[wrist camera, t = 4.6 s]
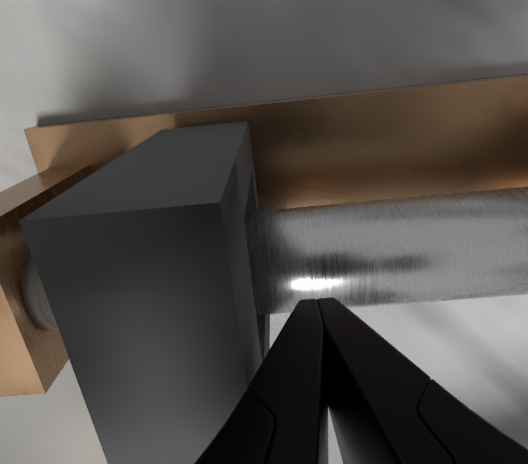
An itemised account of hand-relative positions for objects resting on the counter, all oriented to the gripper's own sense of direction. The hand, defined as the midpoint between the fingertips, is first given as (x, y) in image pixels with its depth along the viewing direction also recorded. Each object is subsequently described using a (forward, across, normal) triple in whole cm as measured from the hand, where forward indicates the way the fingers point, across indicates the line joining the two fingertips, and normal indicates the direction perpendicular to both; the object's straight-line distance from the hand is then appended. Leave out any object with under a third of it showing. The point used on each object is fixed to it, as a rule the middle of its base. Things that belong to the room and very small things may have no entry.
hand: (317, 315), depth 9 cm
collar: (+6, +3, 0) cm, 7 cm away
